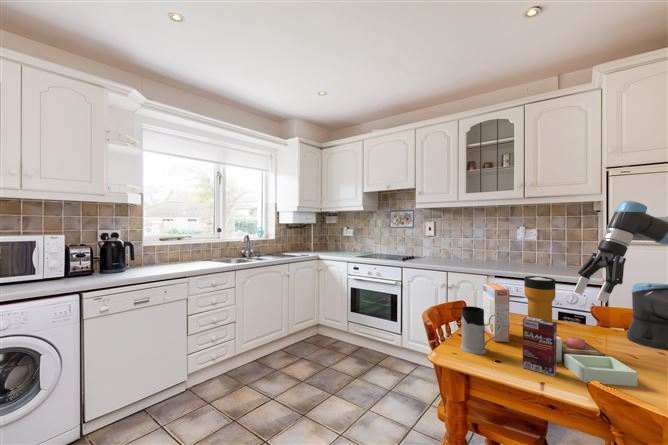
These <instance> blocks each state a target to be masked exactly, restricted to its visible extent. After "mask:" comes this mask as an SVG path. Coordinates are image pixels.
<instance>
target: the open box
mask: <svg viewBox="0 0 668 445" xmlns="http://www.w3.org/2000/svg"><path fill="white" fill-rule="evenodd" d="M561 341H562V338H561V337H559V336H557V348H556V364H558V363H560V364H563V362H562V342H561Z"/></svg>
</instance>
